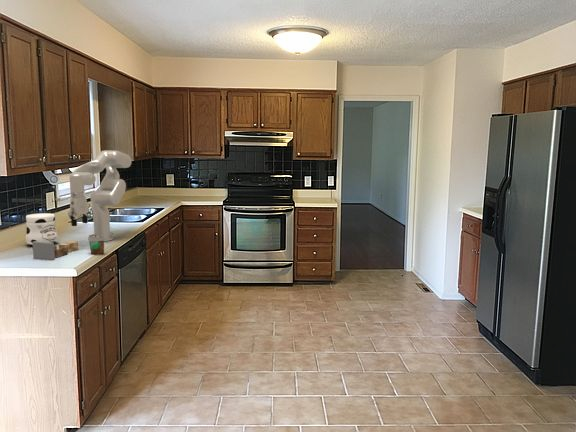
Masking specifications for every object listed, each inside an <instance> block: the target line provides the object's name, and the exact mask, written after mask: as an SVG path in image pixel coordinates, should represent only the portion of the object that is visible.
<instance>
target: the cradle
mask: <svg viewBox="0 0 576 432" xmlns="http://www.w3.org/2000/svg"><path fill="white" fill-rule="evenodd" d="M54 251H55V258H60V257H62V256H66V255H69V253H68V247H63V248H60V249H59V248H58V247H57V245H54Z"/></svg>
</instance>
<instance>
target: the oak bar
mask: <svg viewBox="0 0 576 432" xmlns="http://www.w3.org/2000/svg"><path fill="white" fill-rule="evenodd" d="M63 247H68V254H69V253H72V252H76V251H79V241H74V240H71V241H67V242H63V243H60V244H58V249H60V248H63Z"/></svg>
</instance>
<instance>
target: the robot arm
mask: <svg viewBox="0 0 576 432" xmlns="http://www.w3.org/2000/svg"><path fill="white" fill-rule="evenodd" d="M131 166H132V158H131V156H130V155H128V154H127V153H124V152H122V151H120V150H114V149H113V150H110V149H109V150H101V151H100V152H99V153H98V154H97V155H96V156H95V157H94V158H93V159H92V160H91V161H88V162H86V163H84V164H82V165H80V166H79V165H78V166H77V167H76V168H75V169H74V170H73V171H72V172H71V173H70V174H69V188H70V201H69V211H68V212H67V215H68V218H69V219H70V220H71V221H70V222H71V227H77V226H78V221H77V216H81V219H82V220H81V222H82V224H88V223H89V221H88V218H89V217H88V216H89V213H90V208H89V207H88V201H87V200H88V199H87V197H86V192H85V191H86V189H85V186H92V185H94V184H95V182H96V180H97V179H96V174H99V173H101V172H103V171H104V169H105V170H106V172H105V176H104V177H103V179H102V181H101V182H100V185H99V189H97V190H94V191H92V192H91V194H90V203H91V206H92V219H93V220H92V221H93V234H96V236H100V237H104V242H110V241H113V240H114V237H113V235H115V232H114V231H111V223H110V221H111V220H110V210H109V209H108V207H114V206H115V207H116V206H117V205H118V204H119V203H120V202H121V200H122V198H123V196H124V194H125V192H126V189H127V183H126V181H125V180H124V179H121V178H120V173H119V171H118V169H127V168H130V167H131Z"/></svg>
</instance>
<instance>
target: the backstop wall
mask: <svg viewBox="0 0 576 432" xmlns="http://www.w3.org/2000/svg"><path fill="white" fill-rule="evenodd" d="M32 244H33V246H32V253H33V255H32V256H33V259H34V260H44V259H45V261H54V260H56V257H55V251H54V246H55V243H51V242H39V241H34V242H32Z"/></svg>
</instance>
